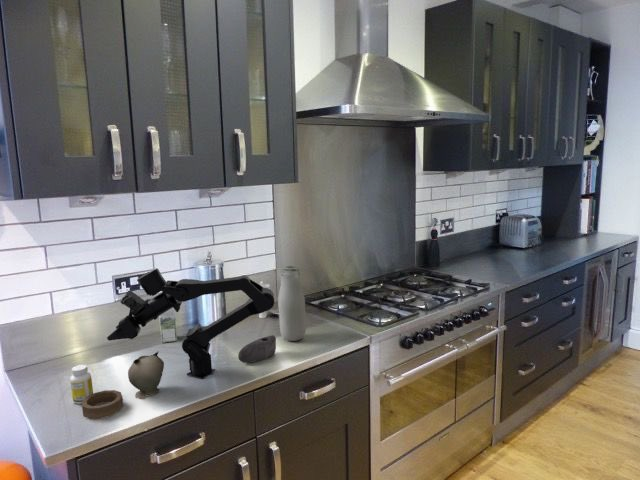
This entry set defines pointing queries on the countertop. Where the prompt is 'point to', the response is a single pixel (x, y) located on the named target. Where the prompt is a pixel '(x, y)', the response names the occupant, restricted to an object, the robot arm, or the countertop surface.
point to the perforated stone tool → (258, 349)
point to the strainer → (263, 315)
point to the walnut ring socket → (103, 410)
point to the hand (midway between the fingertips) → (112, 333)
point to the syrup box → (168, 326)
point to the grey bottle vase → (291, 305)
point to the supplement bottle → (80, 383)
